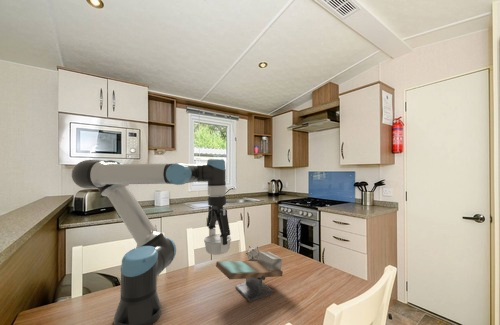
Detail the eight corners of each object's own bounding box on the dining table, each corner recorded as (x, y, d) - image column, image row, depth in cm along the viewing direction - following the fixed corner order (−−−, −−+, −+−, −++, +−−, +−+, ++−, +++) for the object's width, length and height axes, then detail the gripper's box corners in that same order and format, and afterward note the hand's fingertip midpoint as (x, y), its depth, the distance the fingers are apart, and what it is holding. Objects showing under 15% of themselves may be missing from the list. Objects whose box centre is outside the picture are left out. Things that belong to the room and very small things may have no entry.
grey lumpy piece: (255, 265, 128) (264, 250, 130) (254, 266, 120) (264, 250, 122) (243, 256, 130) (252, 242, 133) (241, 256, 122) (251, 241, 125)
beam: (230, 282, 81) (234, 261, 82) (214, 267, 93) (218, 248, 94) (283, 278, 95) (286, 260, 96) (263, 265, 107) (265, 249, 108)
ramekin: (226, 257, 83) (226, 243, 83) (199, 255, 85) (199, 241, 85) (234, 246, 94) (234, 234, 94) (210, 245, 96) (210, 233, 96)
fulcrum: (249, 302, 87) (250, 283, 87) (235, 288, 97) (235, 271, 97) (272, 293, 93) (273, 276, 94) (257, 280, 103) (257, 265, 104)
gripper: (238, 197, 82) (239, 255, 81) (214, 192, 102) (215, 238, 101) (220, 199, 78) (221, 259, 77) (199, 193, 98) (199, 241, 97)
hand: (217, 247), depth 89 cm, fingers closed on ramekin, 11 cm apart
